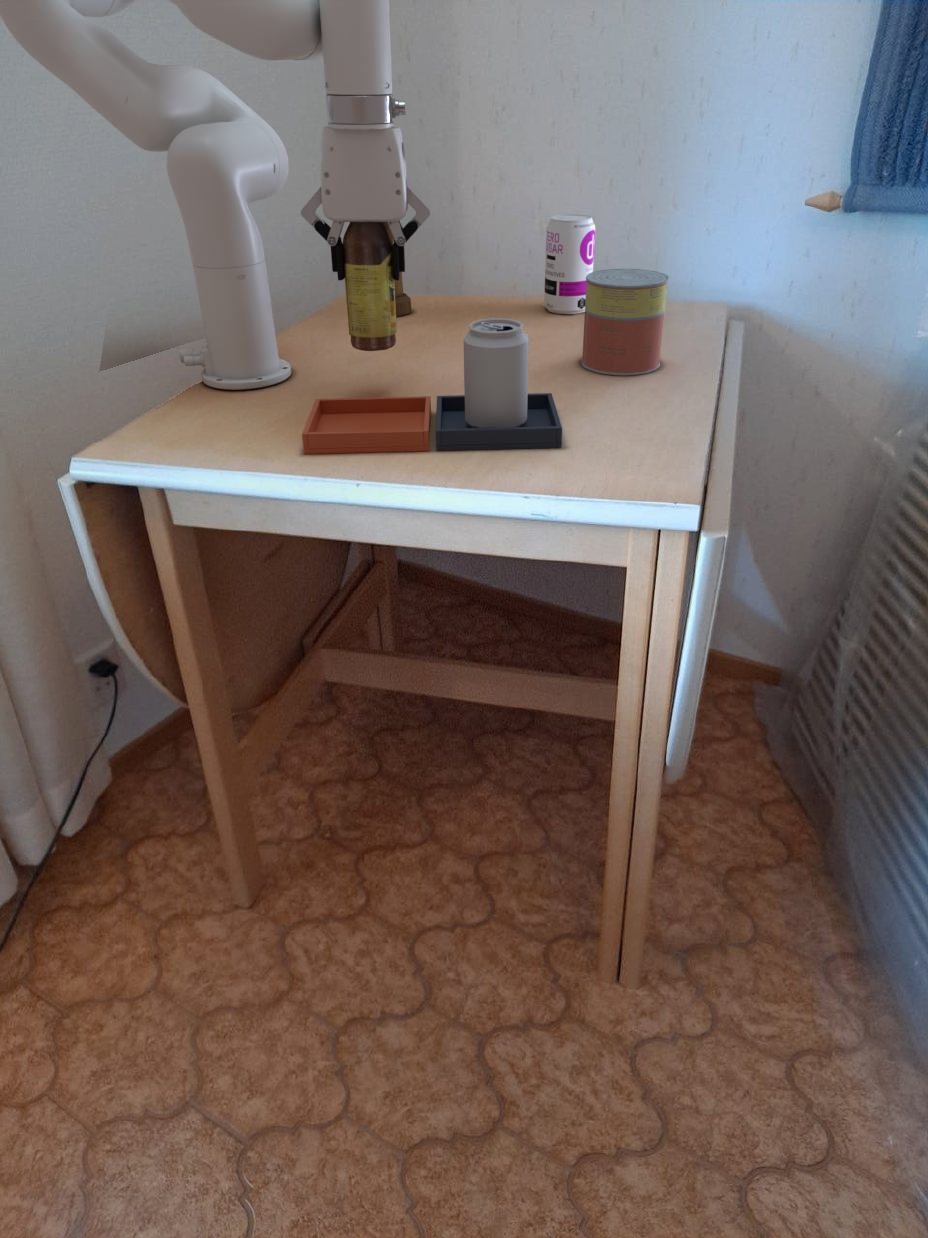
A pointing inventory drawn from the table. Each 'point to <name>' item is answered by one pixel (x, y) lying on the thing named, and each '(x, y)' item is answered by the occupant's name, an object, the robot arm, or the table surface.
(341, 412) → the terracotta tray
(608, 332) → the canned food
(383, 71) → the robot arm
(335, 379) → the table surface
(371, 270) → the sauce bottle
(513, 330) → the can
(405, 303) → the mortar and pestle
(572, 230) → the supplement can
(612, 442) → the table surface
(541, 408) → the charcoal tray
